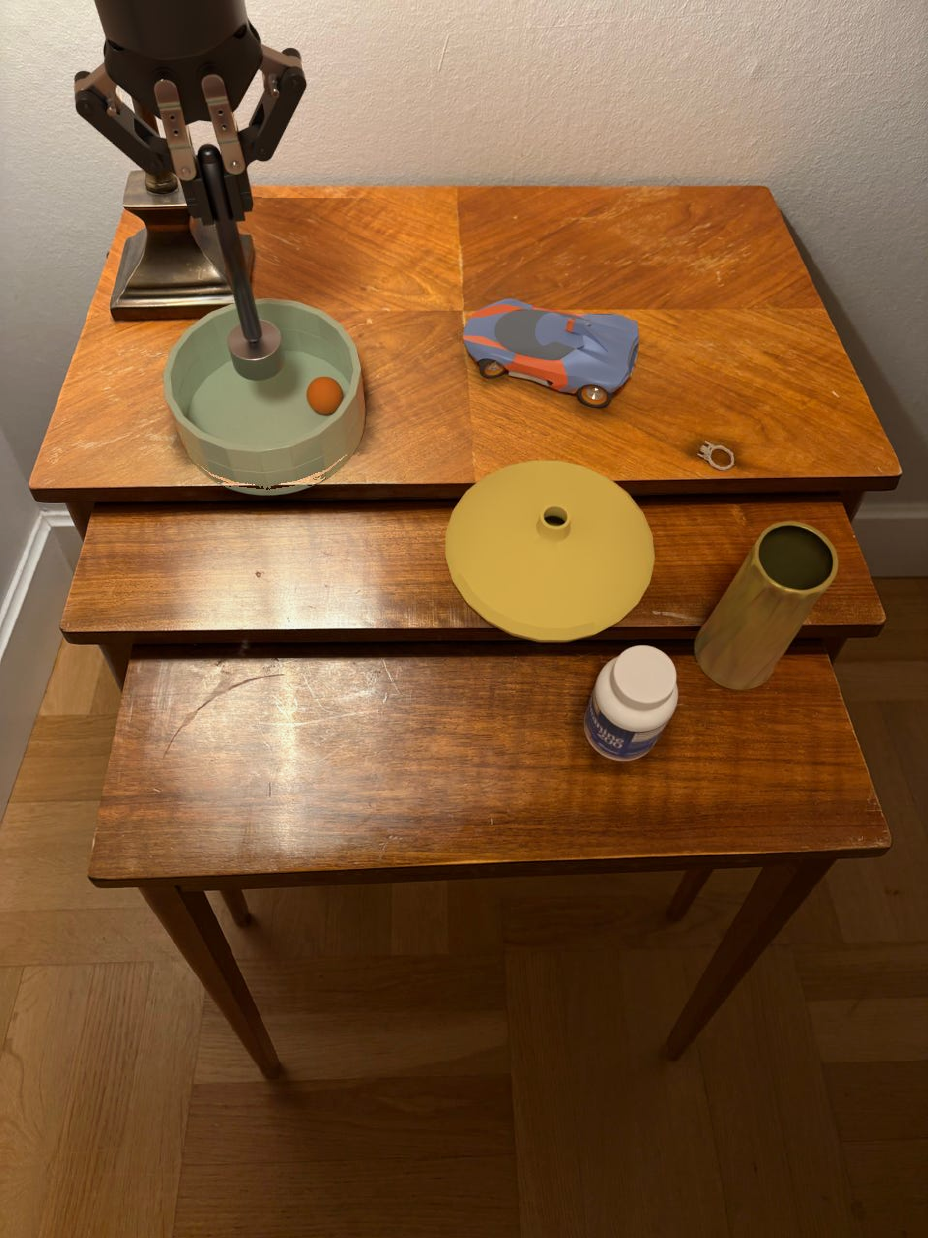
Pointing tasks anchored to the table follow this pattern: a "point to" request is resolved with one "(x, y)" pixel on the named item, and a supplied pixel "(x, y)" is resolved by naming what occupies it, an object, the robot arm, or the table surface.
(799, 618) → the vase
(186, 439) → the bowl
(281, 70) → the robot arm
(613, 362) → the toy car
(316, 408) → the ball
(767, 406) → the table surface
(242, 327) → the rod with round foot
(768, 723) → the table surface
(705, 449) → the ring
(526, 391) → the table surface
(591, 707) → the pill bottle
